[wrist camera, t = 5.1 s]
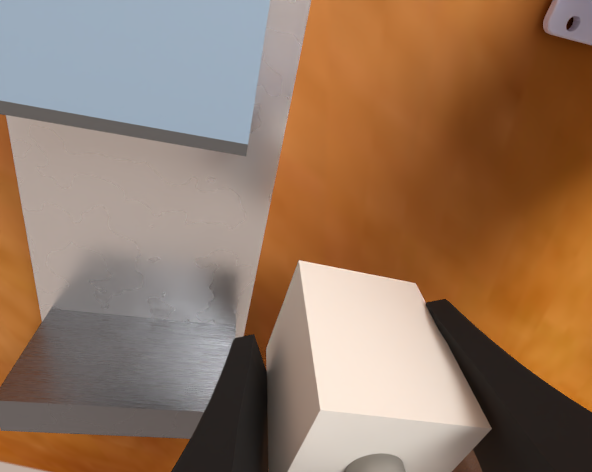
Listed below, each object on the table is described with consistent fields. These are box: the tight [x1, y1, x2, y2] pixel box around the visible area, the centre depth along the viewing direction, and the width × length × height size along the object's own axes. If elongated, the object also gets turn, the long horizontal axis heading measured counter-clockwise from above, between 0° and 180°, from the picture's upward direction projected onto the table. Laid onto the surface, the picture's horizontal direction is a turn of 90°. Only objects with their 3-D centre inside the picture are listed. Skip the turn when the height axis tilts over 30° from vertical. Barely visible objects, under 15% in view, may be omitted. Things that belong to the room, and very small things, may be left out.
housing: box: [266, 260, 492, 472], centre depth 11 cm, size 4×4×6 cm
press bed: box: [0, 0, 311, 439], centre depth 14 cm, size 10×21×6 cm, turn 168°
